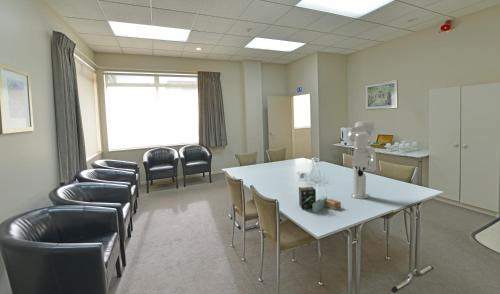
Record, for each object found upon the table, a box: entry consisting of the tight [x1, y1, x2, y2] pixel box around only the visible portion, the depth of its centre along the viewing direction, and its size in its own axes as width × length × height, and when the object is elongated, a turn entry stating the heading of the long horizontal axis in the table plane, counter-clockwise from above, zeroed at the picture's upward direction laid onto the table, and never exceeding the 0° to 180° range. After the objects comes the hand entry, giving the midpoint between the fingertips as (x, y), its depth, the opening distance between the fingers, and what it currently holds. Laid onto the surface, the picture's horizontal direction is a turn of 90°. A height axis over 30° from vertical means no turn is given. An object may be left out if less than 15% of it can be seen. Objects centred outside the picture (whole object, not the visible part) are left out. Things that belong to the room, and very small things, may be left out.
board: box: [312, 195, 328, 214], centre depth 181 cm, size 20×3×6 cm, turn 141°
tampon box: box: [298, 186, 317, 210], centre depth 184 cm, size 11×9×15 cm
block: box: [324, 198, 342, 211], centre depth 182 cm, size 7×9×5 cm
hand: (360, 175), depth 172 cm, fingers closed
